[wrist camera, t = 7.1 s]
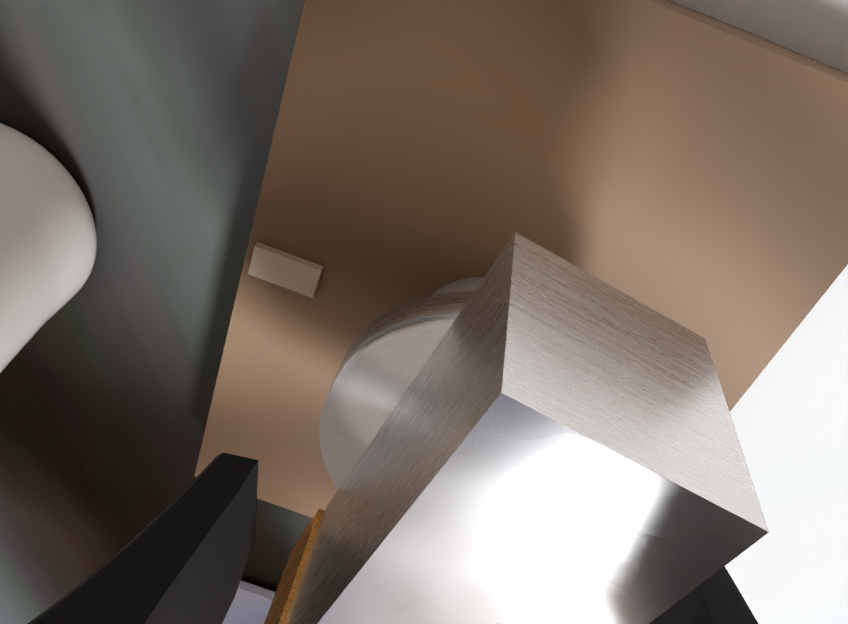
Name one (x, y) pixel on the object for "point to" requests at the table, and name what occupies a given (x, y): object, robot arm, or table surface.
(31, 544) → the table surface
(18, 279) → the drinking glass
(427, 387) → the grey and orange block
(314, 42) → the mount plate
